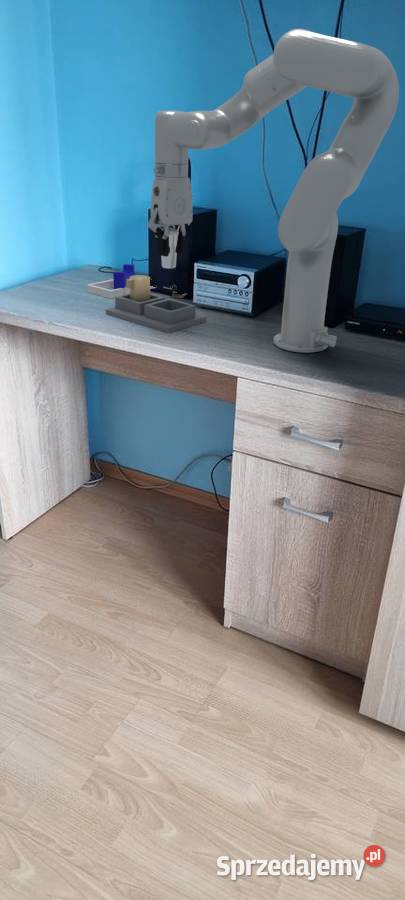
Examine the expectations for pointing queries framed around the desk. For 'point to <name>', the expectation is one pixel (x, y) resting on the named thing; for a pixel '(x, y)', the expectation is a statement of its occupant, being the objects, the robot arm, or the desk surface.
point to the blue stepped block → (123, 276)
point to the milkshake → (171, 249)
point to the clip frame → (102, 290)
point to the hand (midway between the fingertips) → (170, 253)
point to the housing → (153, 308)
